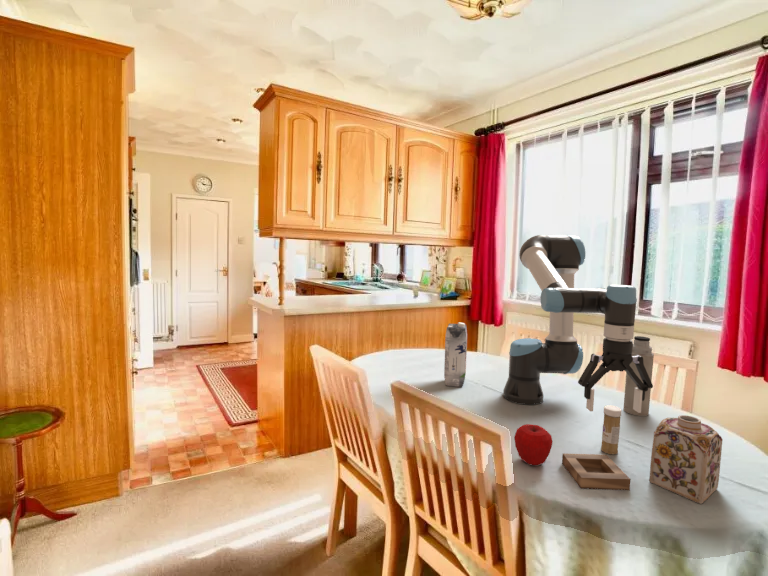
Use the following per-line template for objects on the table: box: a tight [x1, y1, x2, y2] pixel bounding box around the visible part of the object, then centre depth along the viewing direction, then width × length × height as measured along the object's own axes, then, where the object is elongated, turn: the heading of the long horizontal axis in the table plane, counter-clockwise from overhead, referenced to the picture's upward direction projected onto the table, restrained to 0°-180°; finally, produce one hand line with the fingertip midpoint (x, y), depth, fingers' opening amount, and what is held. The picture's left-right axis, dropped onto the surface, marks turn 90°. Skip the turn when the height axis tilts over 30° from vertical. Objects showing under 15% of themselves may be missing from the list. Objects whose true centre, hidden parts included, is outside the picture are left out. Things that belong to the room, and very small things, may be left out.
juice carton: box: [443, 321, 468, 388], centre depth 179 cm, size 9×10×27 cm
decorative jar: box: [648, 415, 723, 505], centre depth 105 cm, size 12×12×18 cm
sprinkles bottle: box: [600, 404, 622, 455], centre depth 122 cm, size 5×5×14 cm
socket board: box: [561, 452, 631, 492], centre depth 109 cm, size 12×12×3 cm
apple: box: [513, 423, 553, 467], centre depth 115 cm, size 10×10×11 cm
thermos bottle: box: [623, 335, 654, 417], centre depth 151 cm, size 8×8×28 cm
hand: (613, 410), depth 121 cm, fingers open, 13 cm apart
